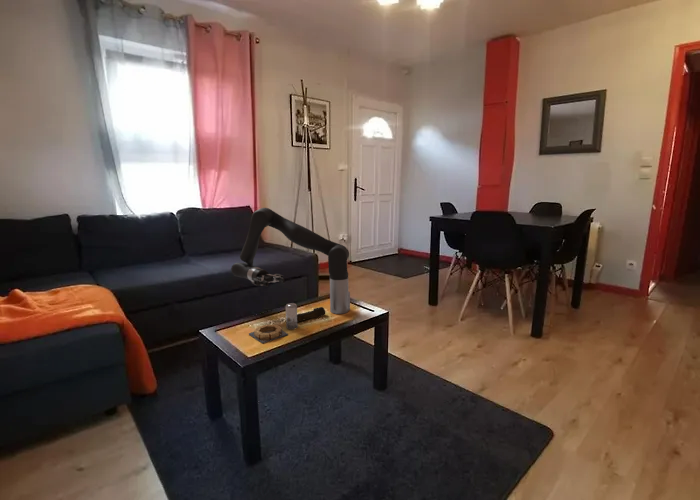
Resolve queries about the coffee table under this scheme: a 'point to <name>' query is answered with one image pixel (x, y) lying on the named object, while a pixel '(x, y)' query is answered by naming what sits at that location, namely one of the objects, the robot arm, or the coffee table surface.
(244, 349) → the coffee table surface
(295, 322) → the cylinder
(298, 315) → the hand tool
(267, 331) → the ring plate
